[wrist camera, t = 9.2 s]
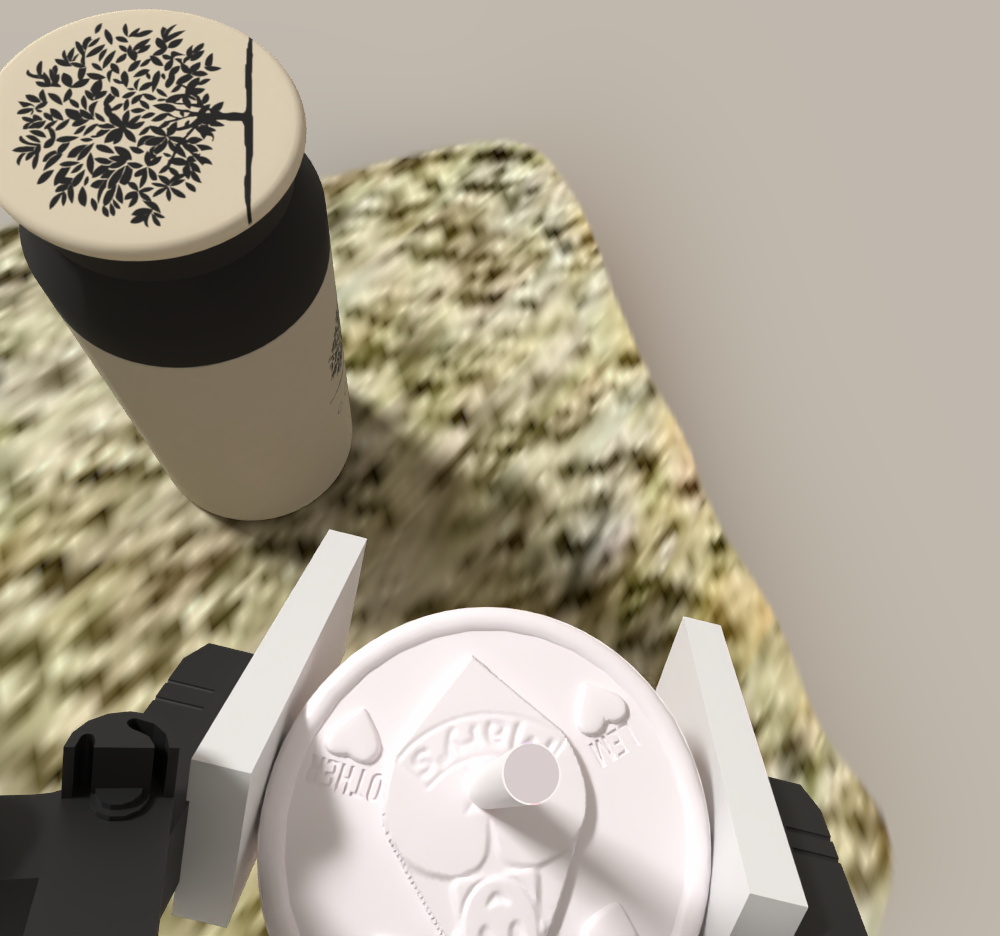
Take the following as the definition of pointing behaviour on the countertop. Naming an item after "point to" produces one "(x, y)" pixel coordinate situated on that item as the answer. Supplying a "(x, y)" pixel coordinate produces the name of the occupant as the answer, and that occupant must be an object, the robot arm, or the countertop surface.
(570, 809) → the smoothie
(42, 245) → the travel mug
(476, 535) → the countertop surface
